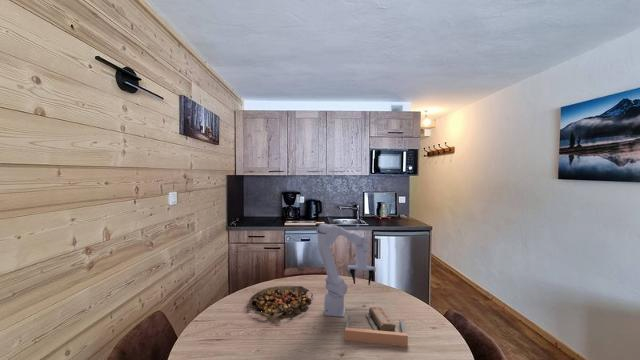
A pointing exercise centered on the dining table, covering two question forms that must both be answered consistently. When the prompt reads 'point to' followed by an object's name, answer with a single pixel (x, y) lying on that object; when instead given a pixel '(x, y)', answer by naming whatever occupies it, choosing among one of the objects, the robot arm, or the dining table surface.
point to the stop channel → (376, 335)
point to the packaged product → (380, 320)
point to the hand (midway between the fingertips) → (361, 283)
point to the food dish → (281, 302)
